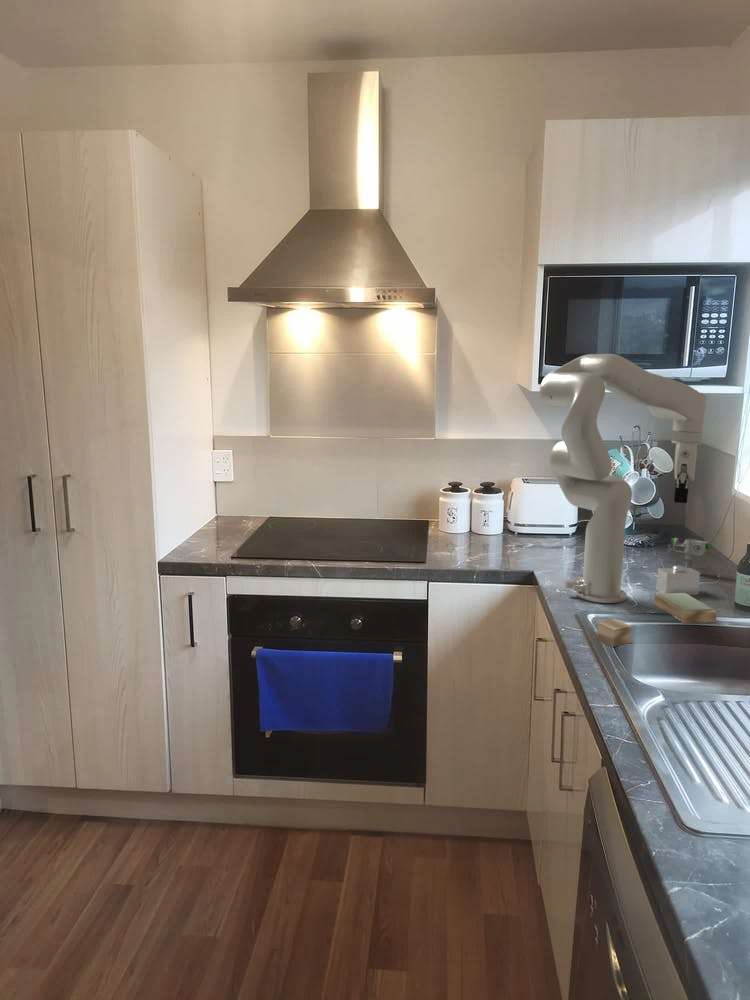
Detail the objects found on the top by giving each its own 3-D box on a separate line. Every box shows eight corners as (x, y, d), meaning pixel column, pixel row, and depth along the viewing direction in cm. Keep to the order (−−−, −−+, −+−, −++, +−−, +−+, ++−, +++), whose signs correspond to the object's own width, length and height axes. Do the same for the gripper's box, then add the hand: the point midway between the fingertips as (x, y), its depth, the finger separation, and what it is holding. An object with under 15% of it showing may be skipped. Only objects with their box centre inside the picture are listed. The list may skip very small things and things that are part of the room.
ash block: (612, 647, 152) (614, 629, 152) (596, 639, 157) (597, 622, 156) (630, 643, 155) (631, 626, 154) (613, 635, 159) (614, 618, 158)
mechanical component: (671, 569, 211) (674, 536, 210) (707, 575, 205) (711, 542, 203) (667, 571, 209) (670, 538, 207) (704, 578, 203) (708, 543, 201)
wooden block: (683, 623, 167) (684, 611, 166) (654, 603, 180) (654, 592, 180) (715, 622, 167) (716, 610, 167) (684, 602, 181) (685, 591, 181)
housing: (665, 595, 187) (667, 569, 186) (656, 589, 192) (658, 564, 191) (698, 594, 188) (700, 569, 187) (687, 589, 193) (690, 564, 192)
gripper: (702, 441, 185) (695, 506, 188) (701, 436, 200) (695, 496, 203) (671, 439, 188) (665, 503, 191) (672, 435, 203) (666, 494, 206)
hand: (680, 499), depth 197 cm, fingers open, 9 cm apart
